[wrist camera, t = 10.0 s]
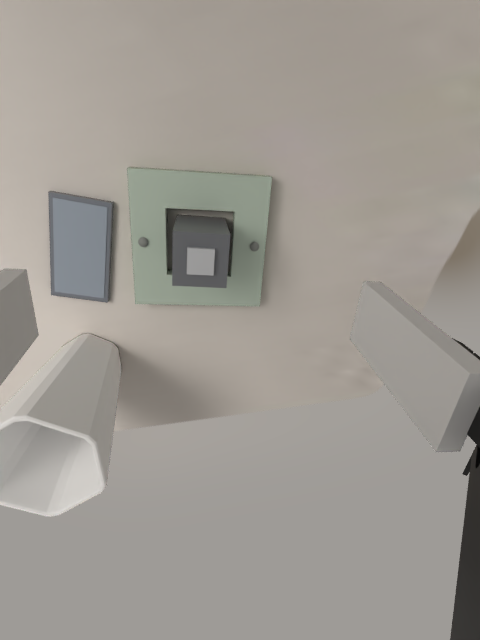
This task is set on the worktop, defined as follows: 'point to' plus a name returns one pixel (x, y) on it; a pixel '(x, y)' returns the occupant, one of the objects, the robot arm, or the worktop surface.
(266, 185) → the outlet plate
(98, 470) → the cup
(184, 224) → the block
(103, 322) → the worktop surface
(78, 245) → the phone
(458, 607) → the robot arm
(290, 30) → the worktop surface
